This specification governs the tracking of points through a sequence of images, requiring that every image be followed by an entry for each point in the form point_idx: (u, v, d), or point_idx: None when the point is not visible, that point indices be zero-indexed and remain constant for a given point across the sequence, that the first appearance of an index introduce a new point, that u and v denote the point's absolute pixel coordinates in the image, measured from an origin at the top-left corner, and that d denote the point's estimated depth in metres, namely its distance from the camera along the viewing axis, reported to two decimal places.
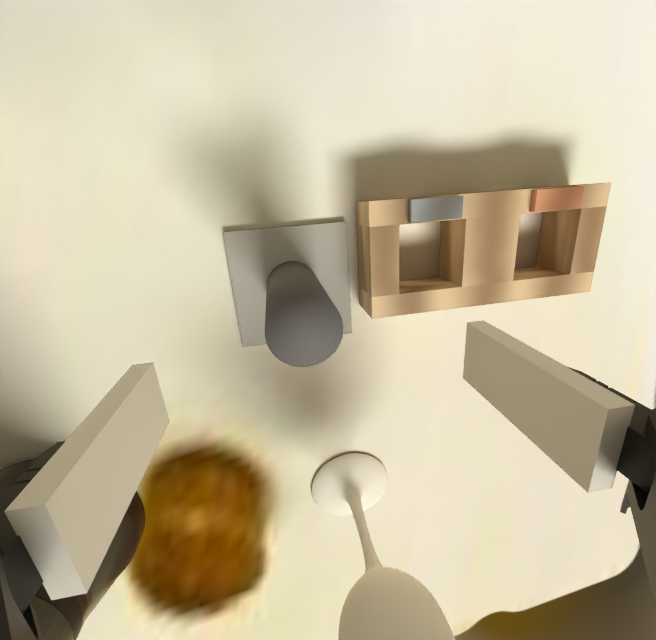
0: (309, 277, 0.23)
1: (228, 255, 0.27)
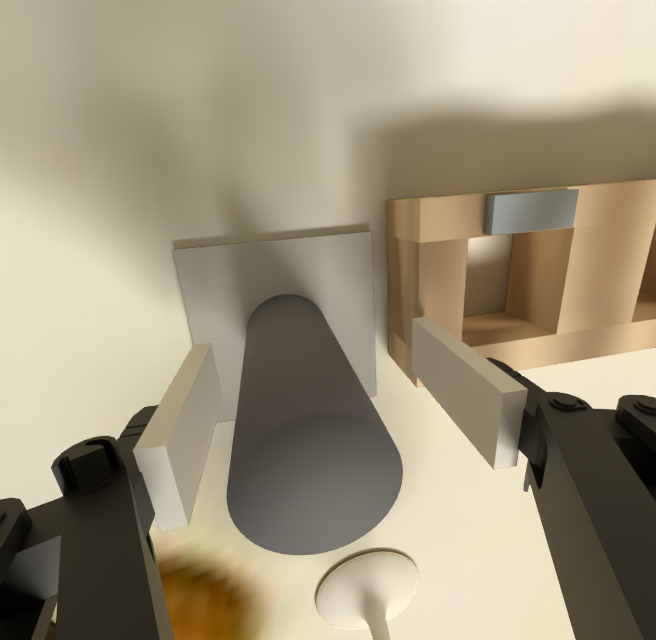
0: (320, 338, 0.12)
1: (183, 288, 0.17)
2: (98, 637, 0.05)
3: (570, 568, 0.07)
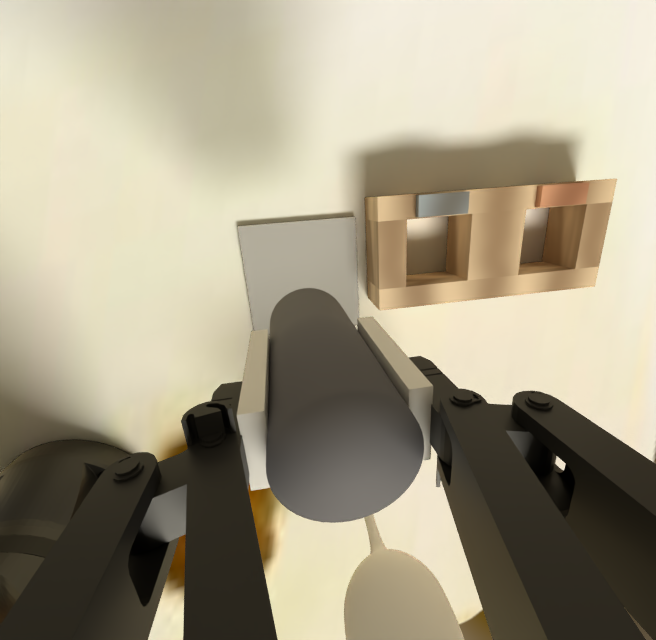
0: (344, 328, 0.13)
1: (242, 249, 0.29)
2: (217, 572, 0.05)
3: (480, 564, 0.07)
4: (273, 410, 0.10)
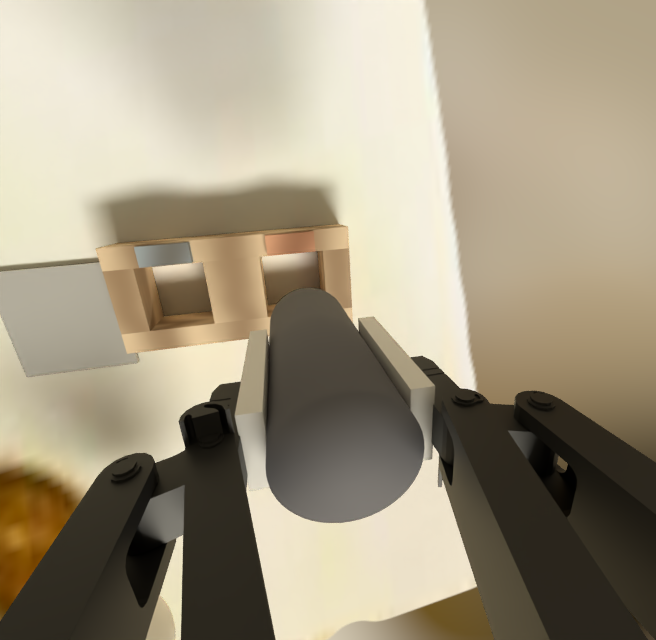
0: (344, 328, 0.13)
1: None
2: (215, 573, 0.05)
3: (482, 564, 0.07)
4: (273, 410, 0.10)
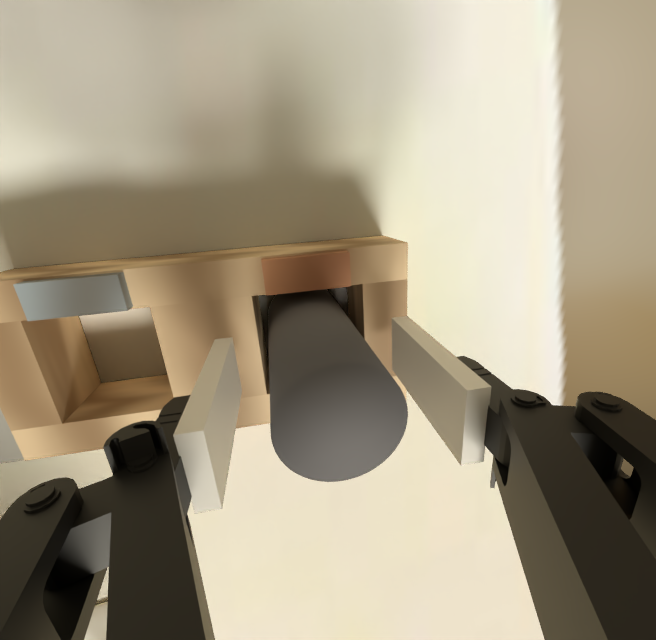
0: (337, 315, 0.15)
1: None
2: (145, 608, 0.05)
3: (536, 564, 0.07)
4: (276, 383, 0.11)
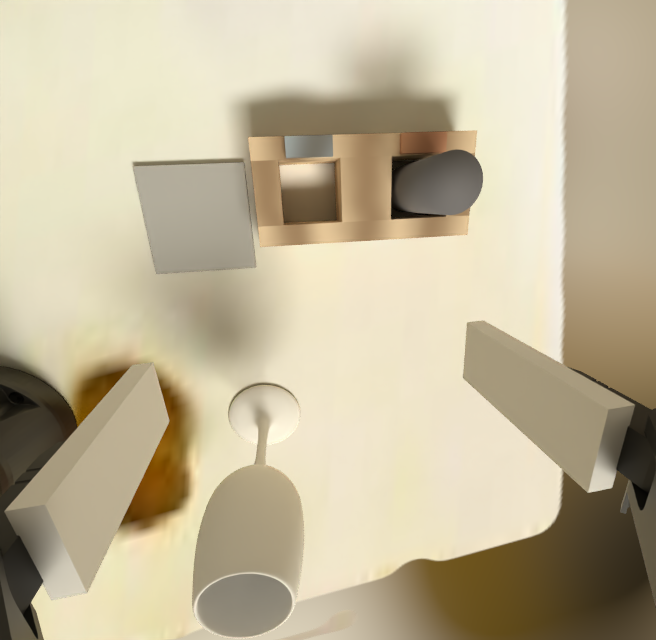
0: None
1: (139, 188, 0.31)
2: None
3: None
4: (423, 168, 0.25)
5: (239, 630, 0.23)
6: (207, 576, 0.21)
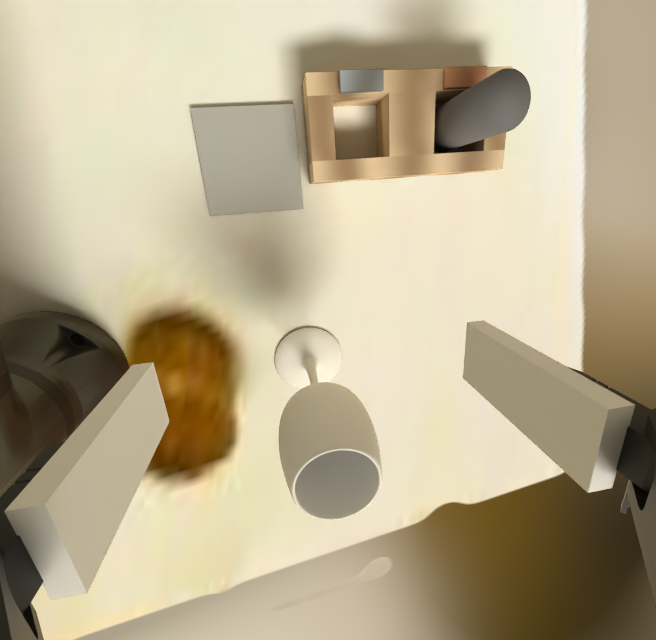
0: None
1: (195, 129, 0.33)
2: None
3: None
4: (475, 90, 0.27)
5: (328, 514, 0.25)
6: (305, 456, 0.23)
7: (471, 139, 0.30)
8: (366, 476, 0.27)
